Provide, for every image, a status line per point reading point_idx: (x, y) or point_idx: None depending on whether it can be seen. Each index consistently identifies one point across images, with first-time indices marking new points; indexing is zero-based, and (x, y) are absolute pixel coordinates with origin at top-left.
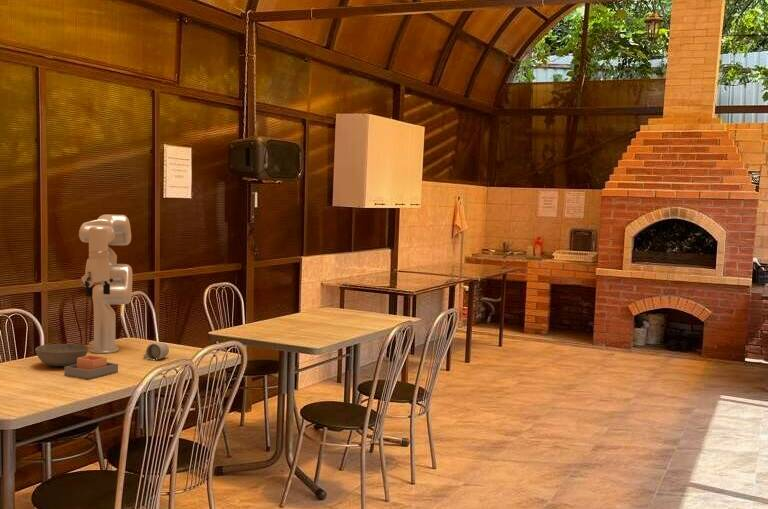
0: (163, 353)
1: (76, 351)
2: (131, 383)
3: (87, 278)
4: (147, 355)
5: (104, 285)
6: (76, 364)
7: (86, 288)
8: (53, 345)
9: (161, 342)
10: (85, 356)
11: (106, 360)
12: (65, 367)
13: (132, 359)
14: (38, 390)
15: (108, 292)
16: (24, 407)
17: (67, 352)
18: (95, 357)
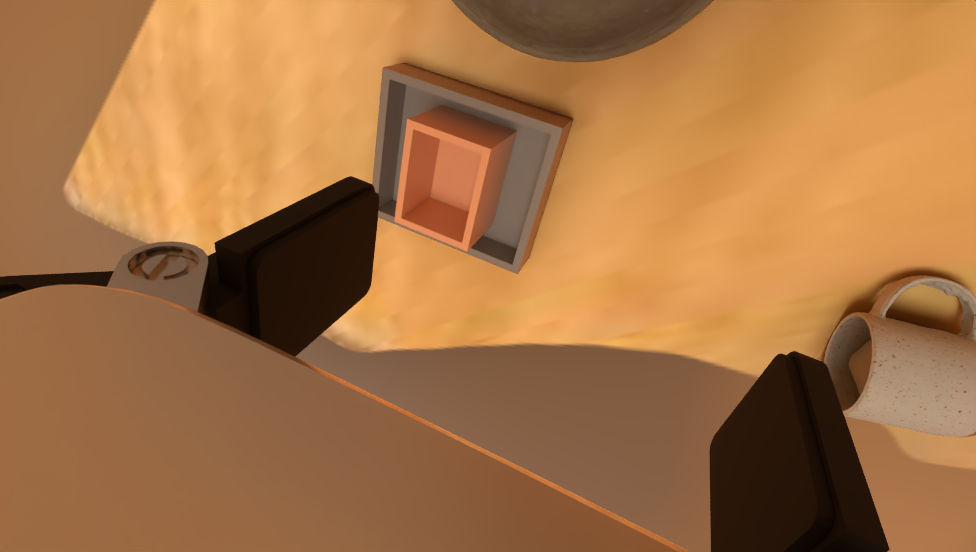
0: (856, 400)
1: (502, 42)
2: (403, 345)
3: (64, 365)
4: (859, 316)
5: (787, 540)
6: (445, 94)
7: (215, 264)
8: None
9: (959, 423)
10: (455, 140)
11: (471, 245)
12: (383, 74)
13: (865, 221)
14: (216, 109)
15: (710, 470)
16: (116, 177)
17: (456, 4)
18: (476, 187)
